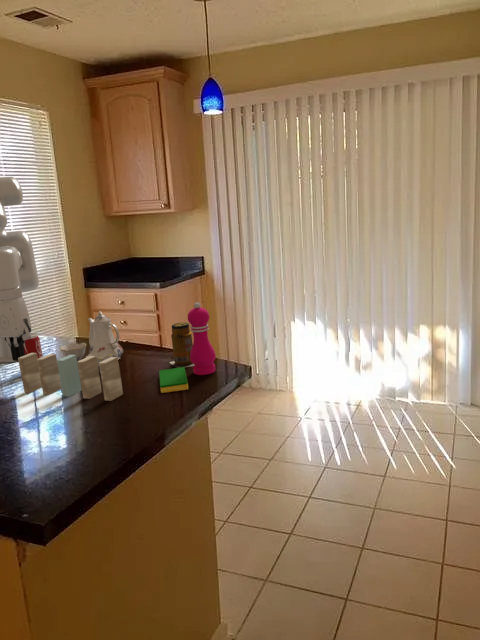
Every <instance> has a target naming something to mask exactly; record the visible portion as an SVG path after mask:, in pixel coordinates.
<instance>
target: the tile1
mask: <svg viewBox="0 0 480 640" xmlns="http://www.w3.org/2000/svg"><path fill="white" fill-rule="evenodd" d="M37 359H38V356H37V353H30V354H27V355H25V356H22V357H20V358H18V361H17V362H18V365H19V371H20V377H21V382H22V386H23V387H22V388H23V392H25V394H31V393H33V392H36V391H38V390H40V389H42V384H41V379H40V373H39V368H38V362H37ZM37 389H38V390H37ZM35 390H36V391H35Z"/></svg>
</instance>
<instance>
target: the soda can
mask: <svg viewBox="0 0 480 640" xmlns="http://www.w3.org/2000/svg"><path fill="white" fill-rule="evenodd" d="M30 336H31V338H30V339H27V340H25V344H24V351H25V355H27V354H30V353H37V356H38V359H39V358H41V357H44V356H43V355H44V354H43V350H42V343H41V339H40V336H39V333H35V332H33V333H30Z"/></svg>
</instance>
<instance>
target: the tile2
mask: <svg viewBox="0 0 480 640" xmlns="http://www.w3.org/2000/svg"><path fill="white" fill-rule="evenodd" d="M57 360H58V358H57V354H56V353H49V354H47V355H44V356H43V357H41V358H39V359H37V362H38V368H39V373H40V379H41V384H42V388H41V389H42V394H43V395H44V396H50V395H52V394H54V393H56V392H58V391H60V390H62V386H61V380H60V374H59V368H58V363H57Z"/></svg>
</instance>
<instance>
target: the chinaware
mask: <svg viewBox="0 0 480 640" xmlns="http://www.w3.org/2000/svg"><path fill="white" fill-rule="evenodd" d="M87 320H88V322H89V332H88V333H89V334H88V335H89V336H88V343H89V347H90V348H89V350H88V354H87V355H86V356H85V353H86V347H87V343H86V342H81V343H77V342H71V343H69V344H67V345H61V346H60V347H59V351H60V352H61V353H62V354H63V358H64V357H66V356H68V355H76V358H77V363H78V361H80V360H82V358H83V357H84V359H85V358H87V357H89V356H96V358H97V364H98V371H99V373H100V366H99V363H100V362H102V361H104V360H106V359H108V358H111V357H118V360H119V359H120V360H121V356H122V355H123V353H124V349H123V347H122V345H120V343H119V340H120V331H119V329H118V327H117V325H116V324H114V323H112V322H111V321H112V317H107V316H106V315H105V314H103V312H102V311H98V313H97V315H96V316H95V318H94V319H93V318H92V317H89V318H87ZM112 327H113V328H114V330H115V334H116V338H115V336H114V333H113V330H112ZM120 360H119V361H120Z"/></svg>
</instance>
